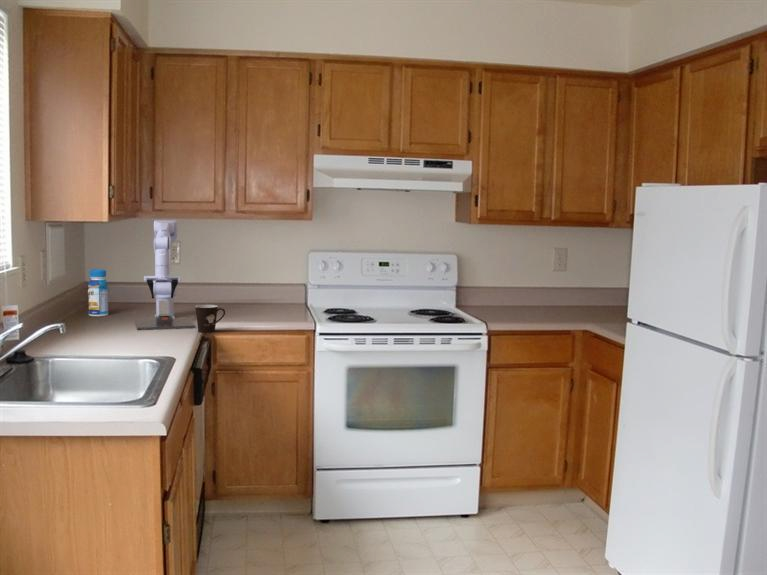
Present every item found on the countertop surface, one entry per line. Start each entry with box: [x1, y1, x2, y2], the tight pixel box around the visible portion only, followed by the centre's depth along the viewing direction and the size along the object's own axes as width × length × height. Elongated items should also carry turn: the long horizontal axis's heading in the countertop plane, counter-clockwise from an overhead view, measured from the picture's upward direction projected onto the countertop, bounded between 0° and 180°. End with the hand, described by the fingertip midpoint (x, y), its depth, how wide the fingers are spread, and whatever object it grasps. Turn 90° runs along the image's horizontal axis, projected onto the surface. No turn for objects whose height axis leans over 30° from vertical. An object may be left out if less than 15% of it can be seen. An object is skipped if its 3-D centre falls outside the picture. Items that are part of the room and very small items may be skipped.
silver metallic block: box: [159, 300, 169, 316], centre depth 306 cm, size 4×4×6 cm
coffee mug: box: [194, 304, 226, 334], centre depth 293 cm, size 12×9×10 cm
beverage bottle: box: [87, 268, 109, 317], centre depth 327 cm, size 8×8×20 cm
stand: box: [133, 315, 196, 331], centre depth 306 cm, size 22×22×4 cm
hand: (162, 298), depth 310 cm, fingers open, 7 cm apart
